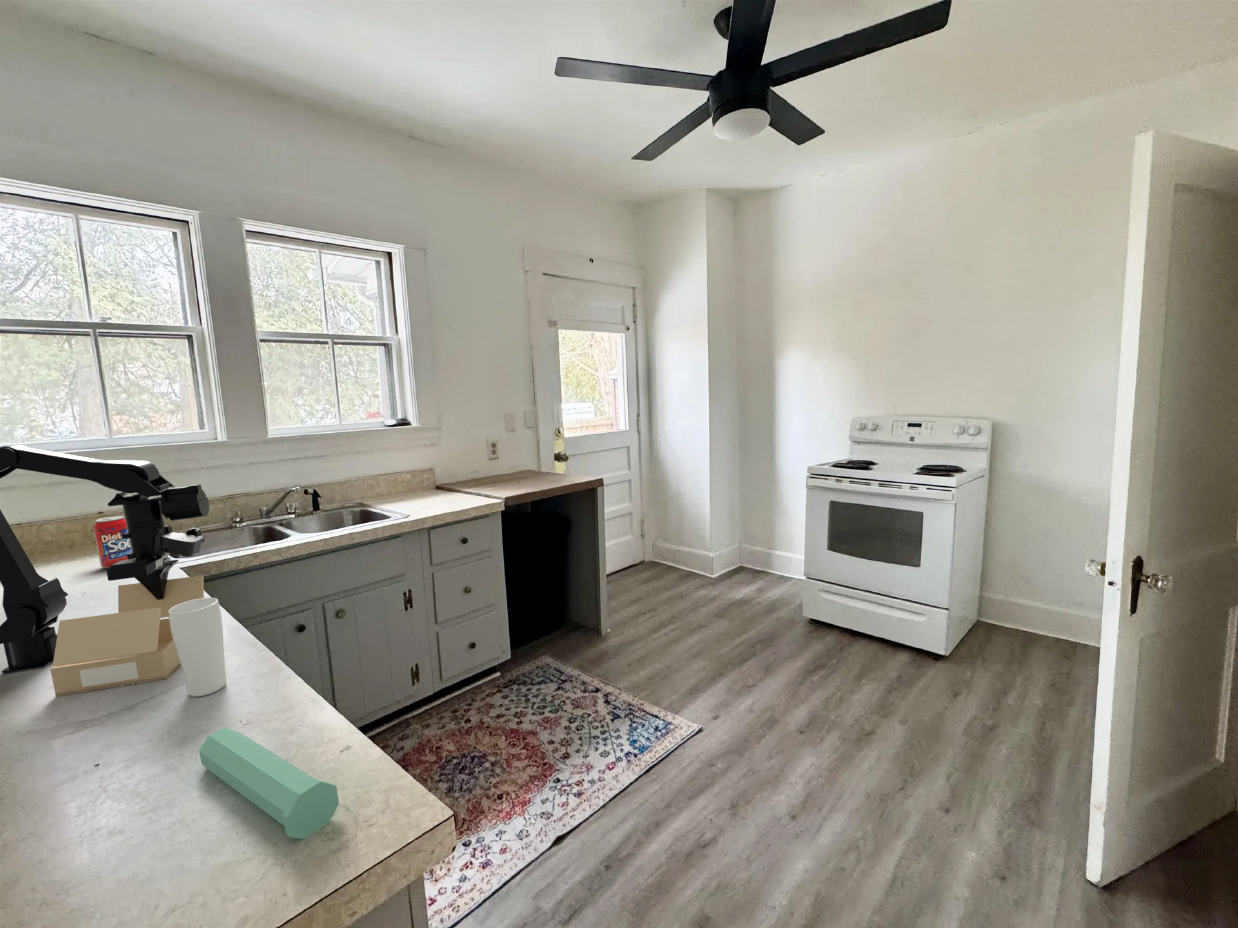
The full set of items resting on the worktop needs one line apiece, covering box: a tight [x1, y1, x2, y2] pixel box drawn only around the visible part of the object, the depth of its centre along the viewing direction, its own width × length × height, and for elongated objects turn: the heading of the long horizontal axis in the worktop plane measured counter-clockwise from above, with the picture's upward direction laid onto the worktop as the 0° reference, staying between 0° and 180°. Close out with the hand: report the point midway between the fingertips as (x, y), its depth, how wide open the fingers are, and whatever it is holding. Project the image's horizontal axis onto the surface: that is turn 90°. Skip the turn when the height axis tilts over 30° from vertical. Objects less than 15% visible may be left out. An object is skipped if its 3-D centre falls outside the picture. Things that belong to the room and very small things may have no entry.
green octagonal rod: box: [198, 727, 340, 840], centre depth 68 cm, size 6×6×25 cm
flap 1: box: [52, 608, 161, 667], centre depth 96 cm, size 15×8×1 cm
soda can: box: [93, 515, 132, 569], centre depth 169 cm, size 8×8×15 cm
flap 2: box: [117, 575, 205, 619], centre depth 113 cm, size 15×8×1 cm
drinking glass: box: [168, 597, 227, 698], centre depth 92 cm, size 7×7×15 cm
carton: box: [49, 617, 181, 697], centre depth 104 cm, size 16×18×5 cm
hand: (160, 599), depth 112 cm, fingers closed
